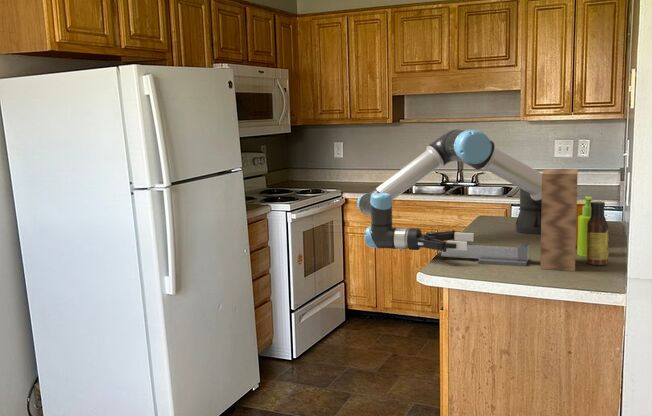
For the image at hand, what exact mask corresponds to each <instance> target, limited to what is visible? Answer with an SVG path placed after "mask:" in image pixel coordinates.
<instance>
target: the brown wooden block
mask: <svg viewBox="0 0 652 416" xmlns="http://www.w3.org/2000/svg"><path fill="white" fill-rule="evenodd" d="M578 172H579V169H578V168H544V169H543V171H542V172H541V173H542V206H541V234H540V267H539V268H540V270H548V271H549V270H550V271H565V272H566V271H567V272H575V271H576V254H577V253H576V252H577V250H576V214H577V200H578V195H577V193H578V174H579V173H578Z"/></svg>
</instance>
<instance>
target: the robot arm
mask: <svg viewBox="0 0 652 416" xmlns="http://www.w3.org/2000/svg"><path fill="white" fill-rule="evenodd" d="M451 162H461V163H463V164H465V165H468V166H470V167H471V168H473V169H475V170H477V171H479V170H483V169H484V170H485V171H487V172H489V173H491V174H493V175H495V176H497V177H499V178H500V179H502V180H503V181H506V182H508V183H510V184H512V185H513V186H516V187H517V188H519V212H518V215H517V218H516V221H515V224H514V230H515V231H516V232H518V233H524V234H536V235H537V234H540V235H541V206H542V173H543V172H540V171H539V170H537V169H535V168H532V166H530V165H527V163H526V164H525V163H523V162H522V161H520V160H519V159H516V158H515V157H513V156H511V155H509V154H507V153H505V152H504V151H502V150H500V149H498V148H496V143H495V142H494V141H493V140H491V139H490V137H489V136H488V135H487V134H485V133H484V132H482V131H480V130H478V129H452V130H449V131H446V132H445V133H444V134H442V135H441V136H439V137H438V138H437V139H435V140H434V141H433V142H432V143H430V144H429V145H427V146H426V149H425V151H424V152H422V153H420V155H418V156H417V157H416V158H414V159H412V161H410V162H409V163H407V164H406V165H404V167H402V168H401V169H400V170H398V171H397V172H396V173H395V174H393V175H392V176H389V178H388V179H386V180H385V181H383V182H382V183H381V184H380V185H378V186H376V188H374V189H372V190H371V191H369V192H368V193H363V194H361V195H359V196H358V198H357V201H356V206H357V209H358V211H360V212H361V213H363V214H364V215H367V216H369V217H370V220H371V222H370V226H367V227H366V228H365V231H364V243H365V245H366V246H367V247H368V248H373V249H394V250H399V251H403V250H412V251H419V250H420V249H421V248H424V249H429V250H435V251H439V252H441V251H443V252H446V248H447V249H449V250H467V245H468V242H475V241H474V240H475V239H474V238H475V237H474V236H475V233H474V232H473V233H472V232H456V230H454V229H452V230H451V231H433V232H431V231H430V232H429V231H427V232H426V233H425V234H422V231H421V229H420V228H417V227H416V228H415V227H410V228H408V227H393V200H395V199H397V198H398V197H399V196H400V195H402V194H403V193H404V192H406V191H407V190H409V189H410V188H412V187H413V186H414V185H416V184H417V183H418V182H420V181H421V180H422V179H424V178H425V177H426V176H427V175H429V174H430V173H432V172H433V171H435V170H436V169H437V168H438V167H439V168H443V167H444V166H446V165H447V164H449V163H451ZM577 196H578V192H577Z"/></svg>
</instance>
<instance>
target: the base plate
mask: <svg viewBox="0 0 652 416" xmlns="http://www.w3.org/2000/svg"><path fill="white" fill-rule="evenodd" d="M477 263H478V264H482V265H483V264H484V265H496V266H497V265H500V266H518V267H527V264H528V262H526V261H516V260H498V259H480V258H478V260H477Z"/></svg>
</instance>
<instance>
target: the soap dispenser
mask: <svg viewBox="0 0 652 416" xmlns="http://www.w3.org/2000/svg"><path fill="white" fill-rule="evenodd" d="M584 200H585V205H584V206H583V208H582V215H581V216H578V244H577V250H576V252H577V253H576V254H577V256H580V257H586V258H587V224H588V221H589V220H590V218H591V200H593V198H592V195H586V196H584Z"/></svg>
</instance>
